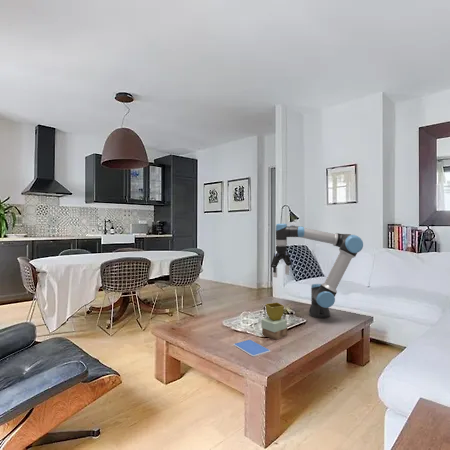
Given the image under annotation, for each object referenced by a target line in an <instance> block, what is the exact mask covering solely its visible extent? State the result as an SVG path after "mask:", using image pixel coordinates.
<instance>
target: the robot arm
mask: <svg viewBox="0 0 450 450" xmlns="http://www.w3.org/2000/svg"><path fill="white" fill-rule="evenodd" d="M288 238H301V239H306V240H311V241H315V242H321V243H326V244H329V245H330V244H331V245H332V246H333V247H337V248H339V249H338V250H339V254H338V256H337V257H336V260H335V262H334V264H333V266H332V267H331V269H330V271H329V273H328V275H327V277H326V279H325V281H324V282H323V283H312V284H311V288H310V291H311V294H310V295H311V297H310V299H311V300H310V301H311V303H310V304H311V305H310V307H309V309H308V315H309V316H311V317H312V318H318V319H319V318H320V319H326V318H330V317H331V311H330V307H332V306H333V305H334V304H335V302H336V298H335V297H336V296H337V293H338V292H337V288H338V286H339V284H340V282H341V280H342V279H343V276H344V274H345V272H346V271H347V269H348V267H349V265H350V263H351V261H352V259H353V258H356V256H357V254H358V253H360V252H361V251H362V250H363V247H364V242H363V239H362V238H361V237H360V236H359V235H356V234H350V233H338V232H336V233H331V232H326V231H322V230H316V229H312V228H308V227H307V228H306V227H304V226H299V225H298V226H297V225H294V224H293V225H290V226H288V225H287V223H276V224H275V252H274V253H273V258H272V261H271V265H270V267H271V268H272V273H273V274H272V275H273V278H278V268H277V267H278V265H279V263H280V261H281V260H283V262H284V264H285V266H284V267H285V269H284V271H285V273H284V275H286V276H287V275H288V276H289V275H290V266H291V265H292V261H291V258H290V254H289V253H290V252H289V251H287V250H288V249H287V248H288V246H287V245H288V241H287V240H288Z"/></svg>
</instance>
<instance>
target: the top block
mask: <svg viewBox="0 0 450 450" xmlns="http://www.w3.org/2000/svg"><path fill="white" fill-rule="evenodd" d="M260 320H261V321H260V322H261V323H260V324H261V325H260V326H261V327H260V328H264V329H267V330H269V331H272V332H277V331H280V330H283V329H286V328H287V329H288V327H287V325H288V324H287V323H288V322H287V321H288V320H287V319H284V318H281V319H280V320H272V319H270V318H269V317H265V318H262V319H260Z"/></svg>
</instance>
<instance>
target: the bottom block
mask: <svg viewBox="0 0 450 450" xmlns="http://www.w3.org/2000/svg"><path fill="white" fill-rule="evenodd" d="M261 332H262V333H261V335H262V334H263V335H264V337H267V338H269V339H272V340H276V341H277V340H280V339H282V338H284V337H286V336H288V327H287V328H286V329H283V330H280V331H277V332H272V331H269V330H267V329H264V328H262V331H261ZM263 335H262V336H263Z"/></svg>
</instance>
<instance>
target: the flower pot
mask: <svg viewBox="0 0 450 450" xmlns="http://www.w3.org/2000/svg"><path fill="white" fill-rule="evenodd" d="M284 310H285V305H284V304H281V303H280V302H272V303H265V311H266V315H267V316H268V317H269V318H270V319H272V320H280V319H283V318H282V317H283V316H284ZM268 317H267V318H268Z"/></svg>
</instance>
